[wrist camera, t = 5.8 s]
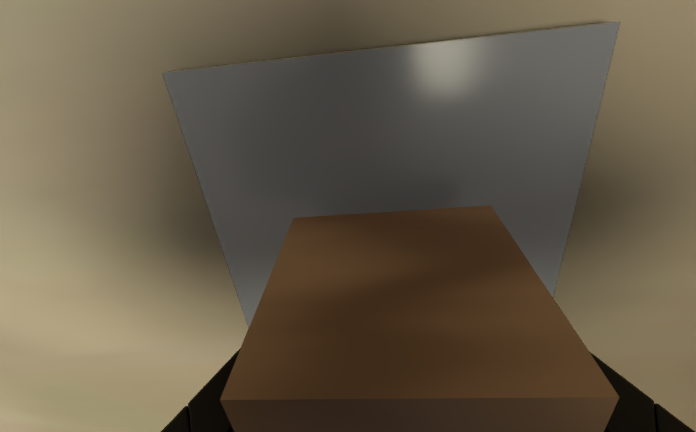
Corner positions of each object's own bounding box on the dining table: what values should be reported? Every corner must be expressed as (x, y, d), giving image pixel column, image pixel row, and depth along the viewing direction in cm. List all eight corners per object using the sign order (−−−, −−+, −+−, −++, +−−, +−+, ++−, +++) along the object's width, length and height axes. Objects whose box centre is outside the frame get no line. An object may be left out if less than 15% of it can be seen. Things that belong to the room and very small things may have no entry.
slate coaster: (605, 21, 9) (620, 21, 8) (533, 341, 15) (539, 353, 14) (172, 70, 10) (162, 73, 10) (263, 348, 16) (259, 359, 15)
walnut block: (491, 205, 8) (619, 397, 4) (475, 345, 11) (546, 560, 6) (293, 217, 9) (219, 399, 5) (320, 348, 11) (288, 550, 7)
